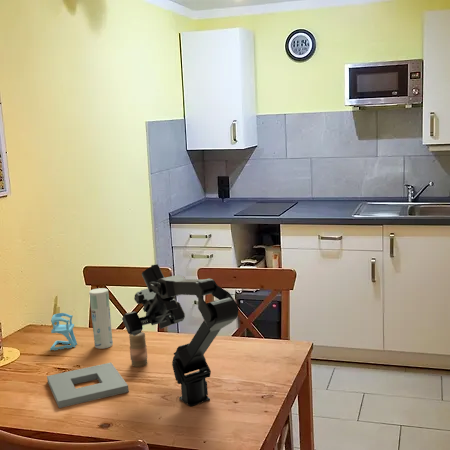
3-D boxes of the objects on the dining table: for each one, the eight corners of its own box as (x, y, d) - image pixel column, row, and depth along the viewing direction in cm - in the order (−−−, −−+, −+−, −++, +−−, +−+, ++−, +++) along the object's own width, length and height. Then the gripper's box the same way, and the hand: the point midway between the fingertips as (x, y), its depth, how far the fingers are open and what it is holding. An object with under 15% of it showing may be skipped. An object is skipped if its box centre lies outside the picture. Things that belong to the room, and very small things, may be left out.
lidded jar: (135, 368, 200) (133, 338, 198) (128, 363, 204) (125, 334, 202) (150, 364, 203) (148, 334, 201) (143, 359, 207) (140, 330, 205)
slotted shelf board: (128, 391, 183) (128, 385, 183) (58, 408, 175) (58, 401, 175) (111, 368, 201) (111, 362, 201) (47, 382, 193) (47, 376, 193)
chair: (73, 350, 220) (70, 317, 217) (50, 351, 220) (46, 318, 218) (78, 342, 227) (76, 310, 225) (56, 343, 227) (52, 311, 225)
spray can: (115, 346, 221) (110, 291, 217) (97, 350, 218) (91, 294, 214) (110, 340, 226) (105, 287, 223) (92, 344, 224) (87, 290, 220)
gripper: (177, 276, 193) (163, 303, 204) (122, 288, 183) (109, 315, 194) (192, 306, 188) (176, 332, 199) (136, 320, 178) (122, 347, 189)
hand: (146, 331), depth 195 cm, fingers open, 9 cm apart
